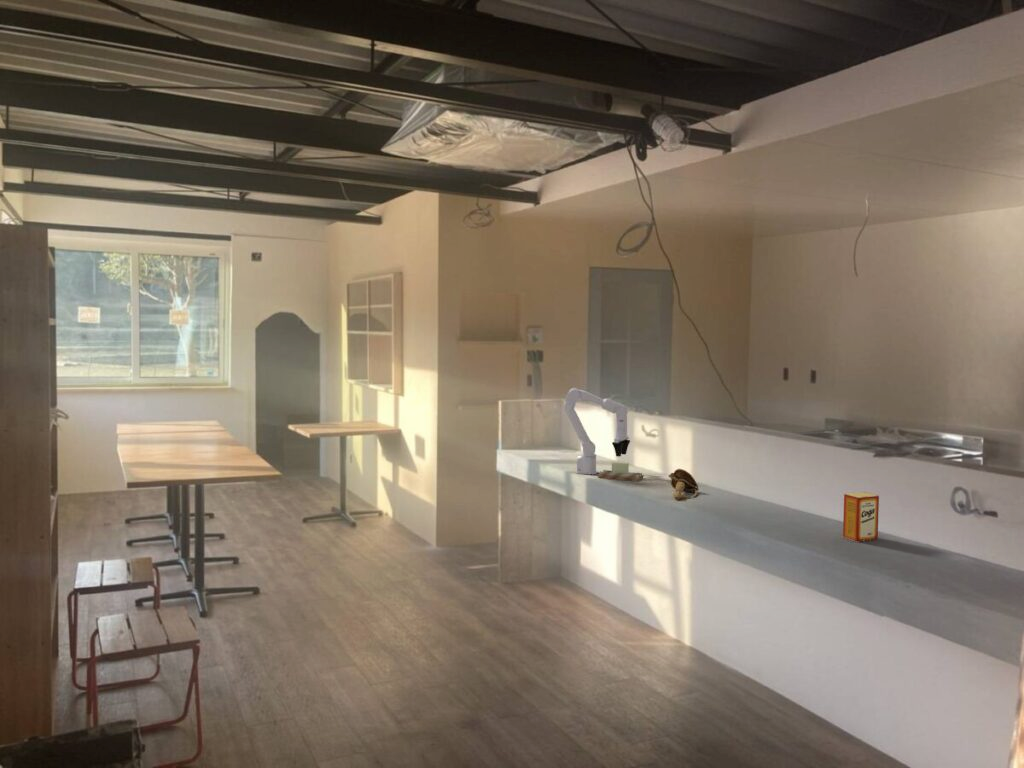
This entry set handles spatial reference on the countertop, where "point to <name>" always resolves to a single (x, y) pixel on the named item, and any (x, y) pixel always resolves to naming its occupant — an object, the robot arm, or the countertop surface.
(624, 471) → the pale green rectangular block
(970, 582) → the countertop surface
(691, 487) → the brown piece
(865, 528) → the baking soda box
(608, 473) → the track board
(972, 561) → the countertop surface
